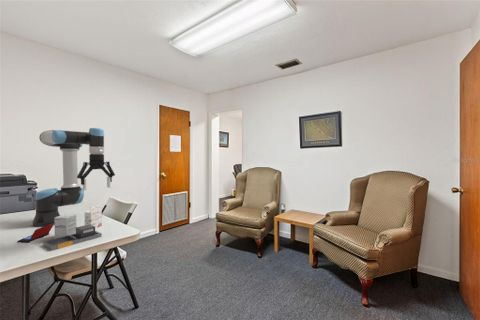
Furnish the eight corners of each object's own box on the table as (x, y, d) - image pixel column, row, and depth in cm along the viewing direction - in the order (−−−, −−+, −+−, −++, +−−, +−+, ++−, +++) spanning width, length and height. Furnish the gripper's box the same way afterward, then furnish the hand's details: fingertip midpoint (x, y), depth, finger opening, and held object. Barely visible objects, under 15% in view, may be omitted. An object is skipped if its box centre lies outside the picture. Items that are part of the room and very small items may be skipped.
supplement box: (54, 239, 125) (53, 217, 125) (65, 235, 133) (64, 213, 132) (66, 240, 125) (66, 217, 125) (77, 235, 132) (76, 214, 132)
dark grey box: (75, 238, 126) (75, 227, 126) (89, 234, 132) (89, 224, 132) (81, 240, 122) (81, 229, 122) (95, 236, 128) (95, 226, 128)
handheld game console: (36, 234, 133) (36, 222, 133) (55, 234, 133) (54, 222, 133) (15, 243, 121) (15, 229, 121) (35, 243, 121) (35, 229, 121)
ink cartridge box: (95, 226, 149) (95, 204, 148) (102, 226, 148) (101, 204, 148) (84, 230, 140) (84, 207, 140) (91, 231, 139) (90, 207, 139)
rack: (42, 246, 116) (42, 241, 116) (92, 233, 135) (92, 229, 135) (51, 252, 109) (51, 246, 109) (101, 237, 128) (101, 233, 128)
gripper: (75, 153, 123) (76, 192, 124) (120, 153, 144) (120, 186, 145) (69, 153, 127) (70, 190, 128) (114, 153, 148) (114, 185, 149)
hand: (97, 188), depth 136 cm, fingers open, 13 cm apart
